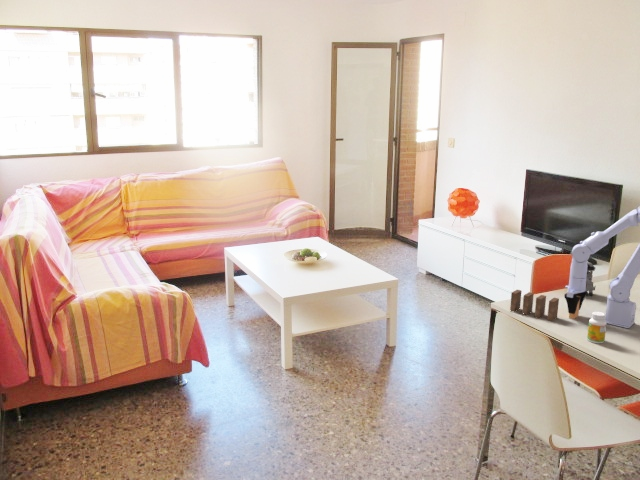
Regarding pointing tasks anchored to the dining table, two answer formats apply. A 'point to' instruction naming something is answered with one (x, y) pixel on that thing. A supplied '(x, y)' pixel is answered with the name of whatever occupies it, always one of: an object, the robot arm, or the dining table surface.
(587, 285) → the figurine
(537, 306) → the tile
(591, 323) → the supplement bottle
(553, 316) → the tile
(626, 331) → the dining table surface
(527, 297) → the tile
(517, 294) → the tile
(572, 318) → the orange tile
